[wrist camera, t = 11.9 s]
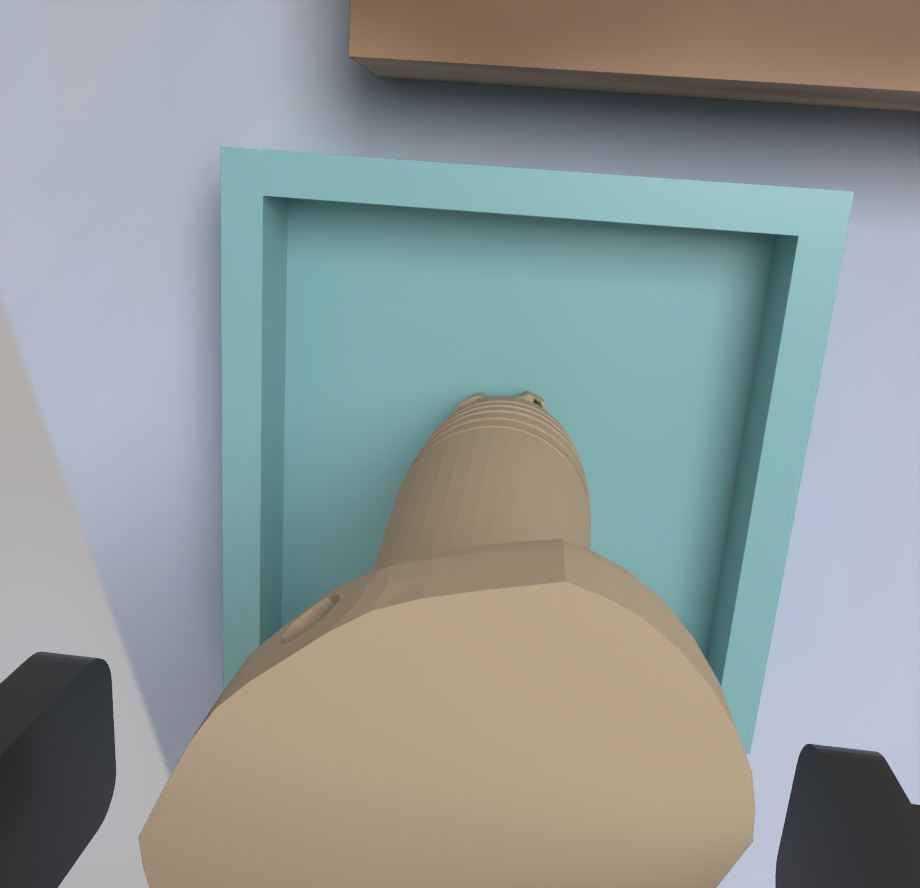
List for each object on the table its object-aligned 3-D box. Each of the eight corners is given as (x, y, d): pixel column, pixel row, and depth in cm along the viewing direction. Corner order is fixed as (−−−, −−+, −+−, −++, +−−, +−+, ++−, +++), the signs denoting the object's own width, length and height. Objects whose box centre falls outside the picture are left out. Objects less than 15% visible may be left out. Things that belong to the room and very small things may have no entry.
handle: (660, 450, 23) (844, 877, 9) (460, 575, 24) (330, 1115, 10) (556, 297, 22) (566, 481, 8) (355, 436, 24) (54, 804, 9)
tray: (262, 153, 23) (220, 146, 20) (815, 192, 22) (854, 191, 19) (258, 637, 27) (223, 690, 24) (727, 691, 26) (749, 754, 23)
